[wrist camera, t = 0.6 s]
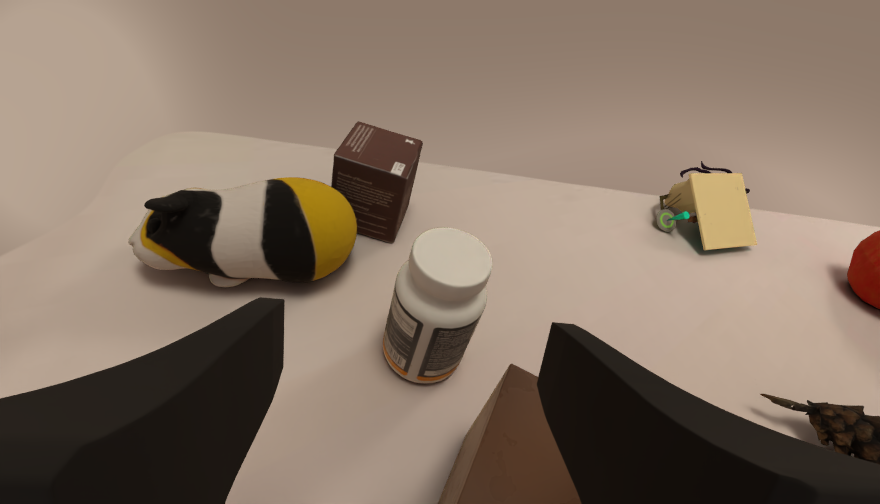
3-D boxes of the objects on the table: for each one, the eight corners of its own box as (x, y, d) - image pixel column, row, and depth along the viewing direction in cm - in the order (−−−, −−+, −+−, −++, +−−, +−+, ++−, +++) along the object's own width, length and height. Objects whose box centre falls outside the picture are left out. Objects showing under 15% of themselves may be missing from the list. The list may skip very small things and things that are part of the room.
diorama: (688, 251, 46) (646, 259, 51) (778, 242, 52) (732, 250, 57) (668, 147, 47) (629, 165, 52) (758, 150, 53) (715, 165, 58)
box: (350, 187, 43) (357, 119, 38) (409, 205, 43) (424, 140, 38) (326, 225, 38) (331, 154, 33) (393, 246, 38) (407, 177, 33)
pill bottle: (461, 326, 34) (502, 232, 27) (456, 395, 30) (503, 304, 23) (388, 310, 33) (412, 210, 26) (373, 377, 29) (395, 279, 22)
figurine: (156, 231, 34) (110, 148, 28) (348, 210, 39) (345, 133, 32) (143, 321, 30) (85, 243, 24) (365, 286, 34) (365, 212, 28)
